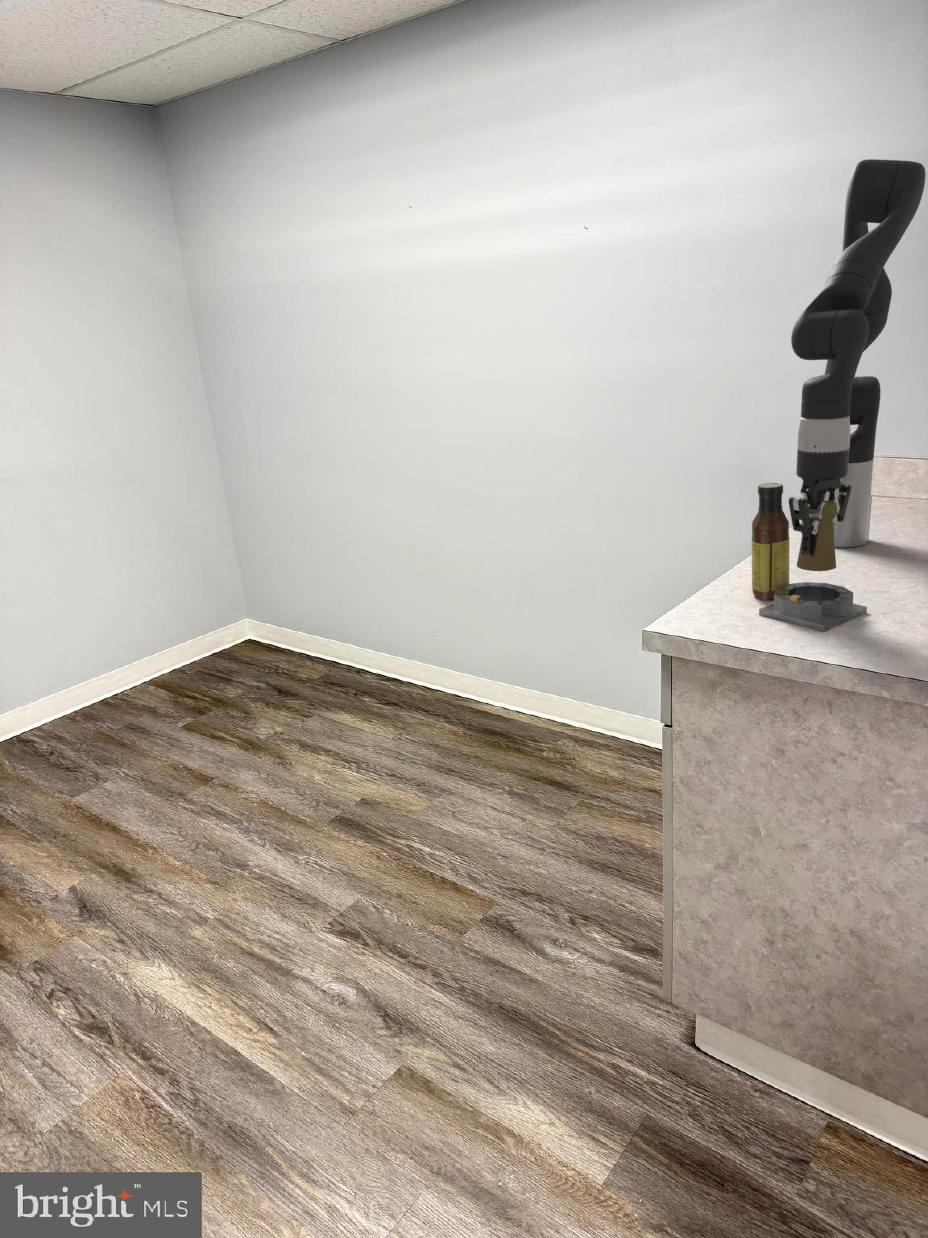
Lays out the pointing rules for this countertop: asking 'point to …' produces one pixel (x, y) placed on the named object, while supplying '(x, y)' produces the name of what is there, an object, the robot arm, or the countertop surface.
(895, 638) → the countertop surface
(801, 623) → the hub
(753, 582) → the sauce bottle
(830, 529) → the cork
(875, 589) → the countertop surface
